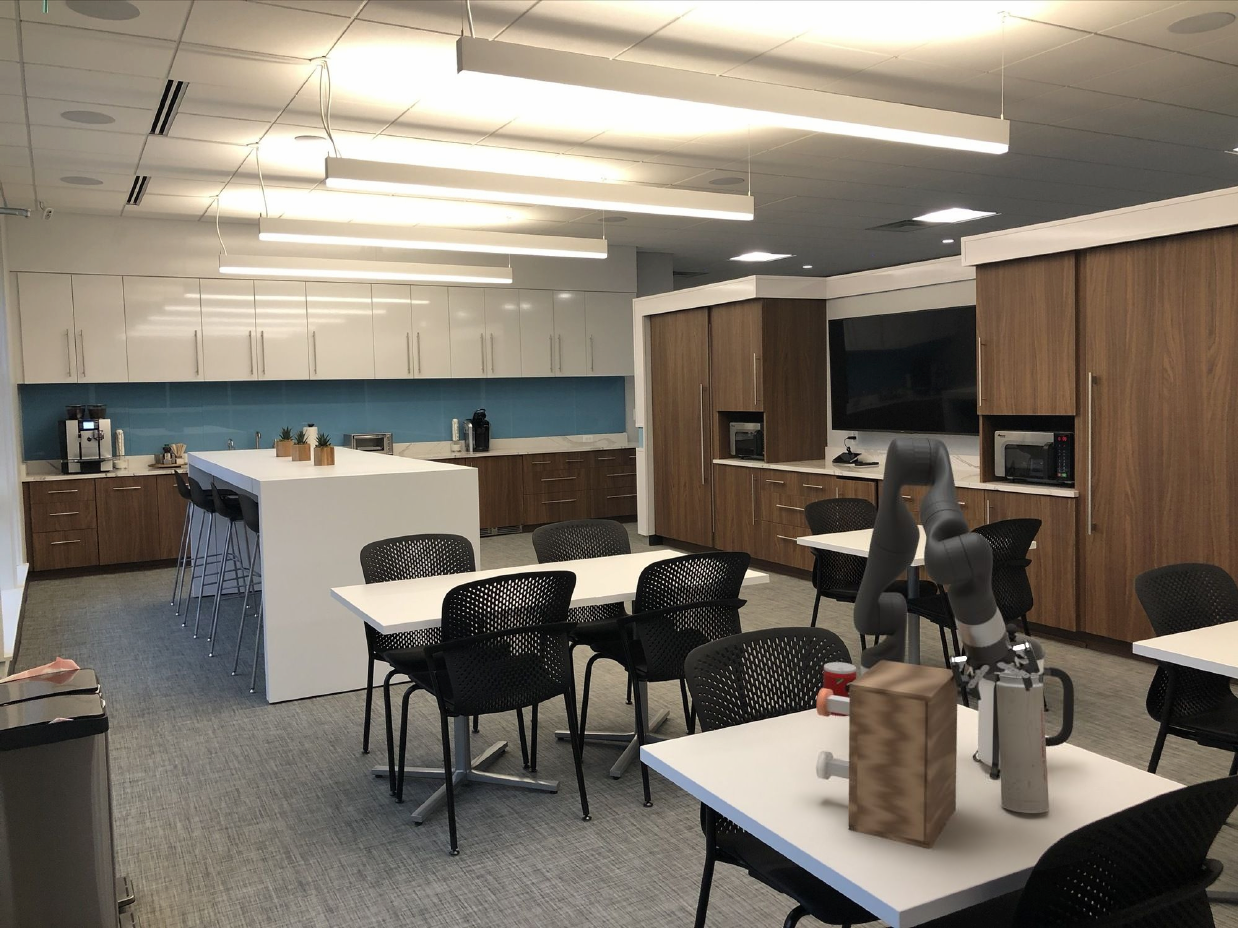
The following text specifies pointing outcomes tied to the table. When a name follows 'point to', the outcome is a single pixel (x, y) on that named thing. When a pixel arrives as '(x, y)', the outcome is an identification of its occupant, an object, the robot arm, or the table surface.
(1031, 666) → the robot arm
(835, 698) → the salmon round knob
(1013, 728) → the thermos bottle
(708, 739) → the table surface
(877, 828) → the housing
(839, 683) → the canned food
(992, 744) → the coffee press
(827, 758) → the grey plunger
